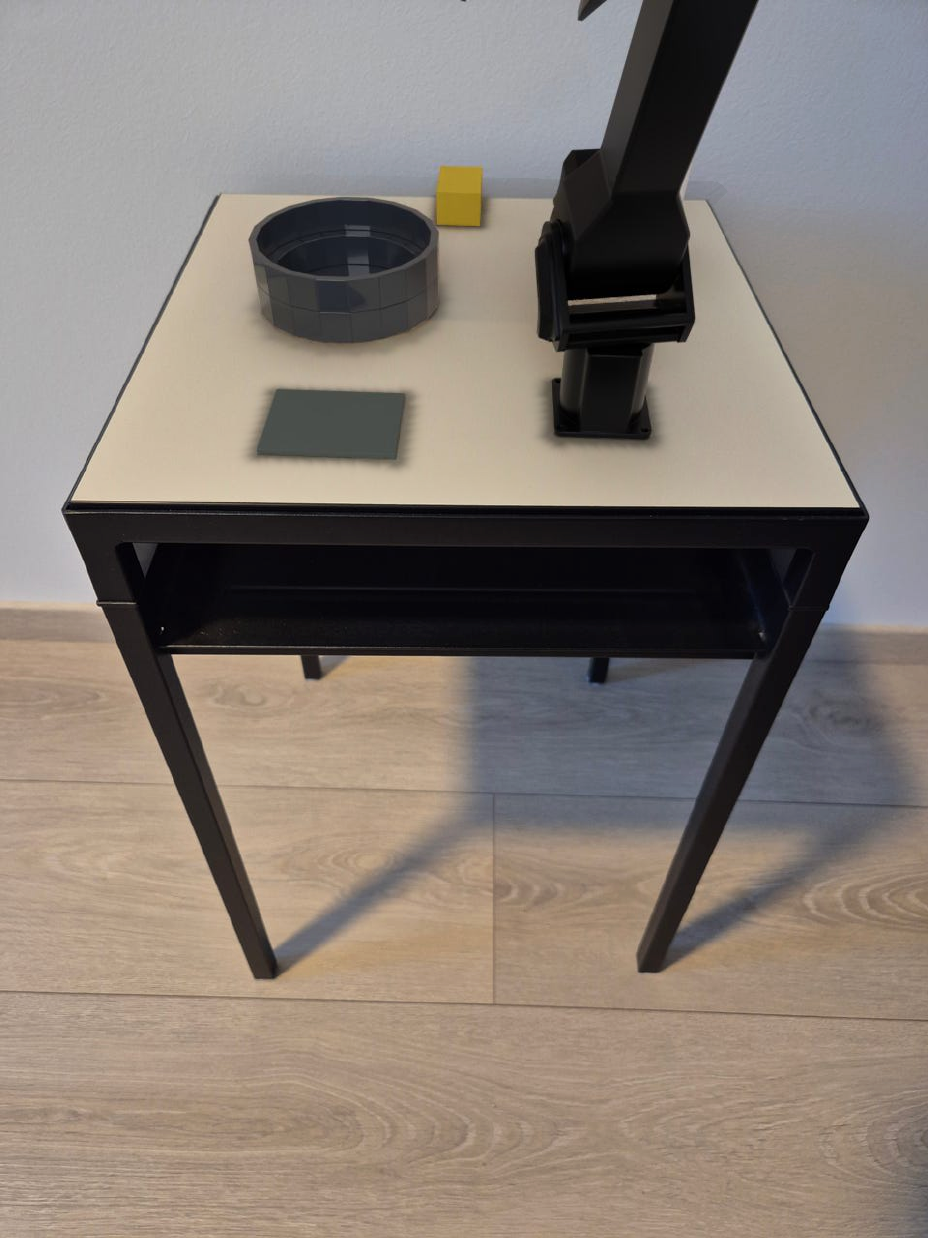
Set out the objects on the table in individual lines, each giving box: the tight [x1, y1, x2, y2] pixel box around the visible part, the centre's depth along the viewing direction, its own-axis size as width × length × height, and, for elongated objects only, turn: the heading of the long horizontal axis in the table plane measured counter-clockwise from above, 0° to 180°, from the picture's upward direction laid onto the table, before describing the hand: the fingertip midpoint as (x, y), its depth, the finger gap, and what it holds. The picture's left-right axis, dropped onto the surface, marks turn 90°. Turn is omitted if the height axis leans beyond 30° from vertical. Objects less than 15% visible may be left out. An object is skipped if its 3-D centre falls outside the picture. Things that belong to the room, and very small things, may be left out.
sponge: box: [435, 165, 484, 227], centre depth 80 cm, size 6×4×3 cm, turn 178°
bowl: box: [247, 196, 441, 344], centre depth 67 cm, size 14×14×6 cm
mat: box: [256, 388, 406, 460], centre depth 58 cm, size 7×9×1 cm
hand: (522, 5), depth 67 cm, fingers open, 9 cm apart
